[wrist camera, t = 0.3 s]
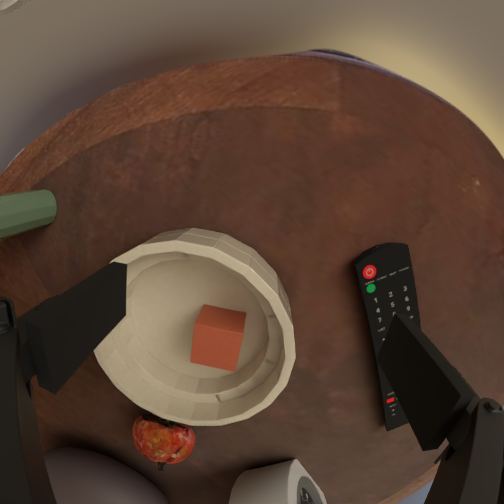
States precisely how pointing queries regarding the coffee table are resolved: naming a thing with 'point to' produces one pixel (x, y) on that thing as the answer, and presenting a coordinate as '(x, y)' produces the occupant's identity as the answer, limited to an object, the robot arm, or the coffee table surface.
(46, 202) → the holder
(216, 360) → the block
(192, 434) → the pomegranate
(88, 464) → the flattened ellipsoid
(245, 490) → the alarm clock
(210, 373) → the bowl
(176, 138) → the coffee table surface
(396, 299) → the remote control
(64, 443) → the coffee table surface
